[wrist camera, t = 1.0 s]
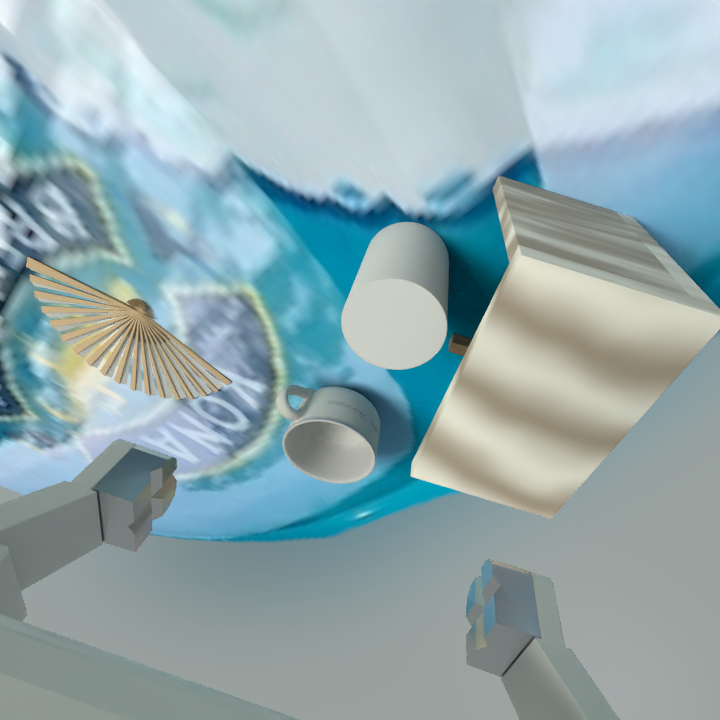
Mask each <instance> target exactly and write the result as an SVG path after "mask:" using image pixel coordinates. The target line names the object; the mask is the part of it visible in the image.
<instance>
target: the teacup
mask: <svg viewBox="0 0 720 720" xmlns="http://www.w3.org/2000/svg"><path fill="white" fill-rule="evenodd" d="M289 394H291V395H296V396H299V397H301V398H303V401H302V402H301V404H300V405H299V407H298V409H297V410H294V409H293V408H292V407H291V406H290V404H289V402H288V395H289ZM276 405H277V408H278V410H279V412H280V413H281V415H283V416H284V417H285V418H287V419H290V420H292V421H291V423H290V426H289V428H288V430H287V431H286V432H285V434H284V437H283V450H284V452H285V454H286V456H287V458H288V459H289V461H290V462H291V463H292V464H293V465H294V466H295V467H296V468H297V469H299V470H300V471H301V472H303V473H305V474H306V475H308V476H311V477H313V478H315V479H318V480H321V481H324V482H329V483H351V482H357V481H359V480H361V479H363V478H365V477H367V476H368V475H369V474H370V473H371V472H372V471H373V469H374V467H375V463H376V454H377V449H378V444H379V438H380V429H381V427H380V419H379V415H378V413H377V411H376V409H375V407H374V406H373V405H372V403H371V402H370V401H369V400H368V399H366V398H365V397H364V396H363V395H361V394H359V393H358V392H355V391H353V390H350V389H347V388H343V387H335V386H331V387H324V388H320V389H317V390H314V389H313V388H304V387H301V386H297V385H289V386H286V387H284V388H283V389H281V390H280V391H279V393H278V394H277V397H276Z"/></svg>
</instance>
